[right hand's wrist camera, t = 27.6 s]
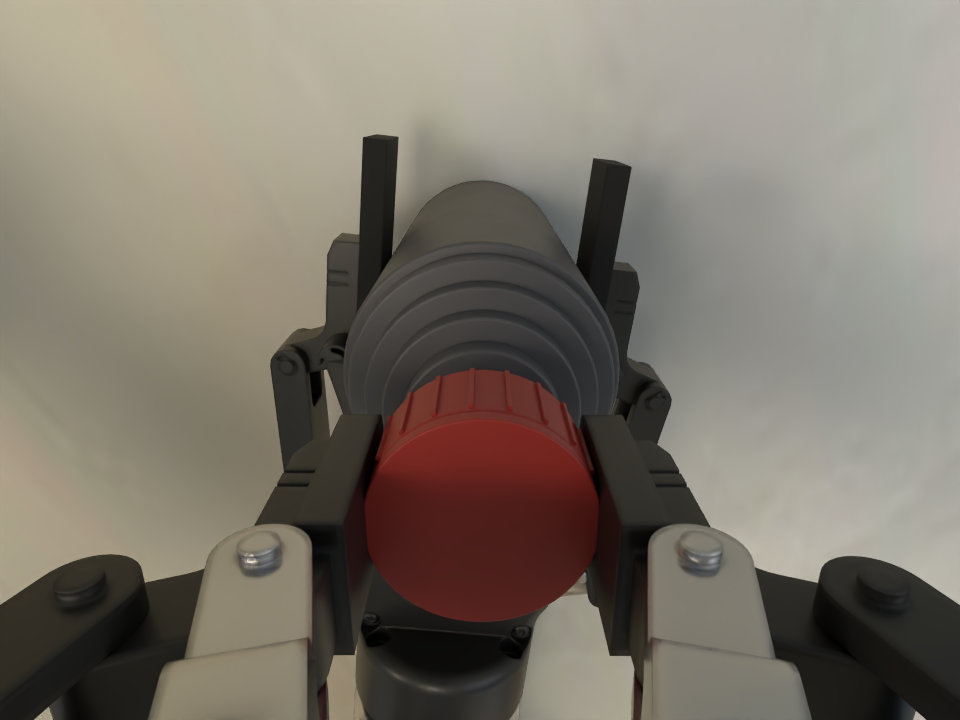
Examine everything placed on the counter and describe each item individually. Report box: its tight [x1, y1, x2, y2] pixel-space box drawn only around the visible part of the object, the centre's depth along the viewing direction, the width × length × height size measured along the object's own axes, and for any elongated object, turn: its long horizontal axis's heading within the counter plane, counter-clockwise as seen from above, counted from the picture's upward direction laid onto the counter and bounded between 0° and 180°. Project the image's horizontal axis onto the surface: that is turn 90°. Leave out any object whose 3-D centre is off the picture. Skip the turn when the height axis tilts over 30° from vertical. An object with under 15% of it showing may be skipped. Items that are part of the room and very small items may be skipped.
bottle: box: [343, 181, 620, 428], centre depth 20 cm, size 7×7×19 cm
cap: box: [364, 368, 599, 622], centre depth 11 cm, size 4×4×2 cm
